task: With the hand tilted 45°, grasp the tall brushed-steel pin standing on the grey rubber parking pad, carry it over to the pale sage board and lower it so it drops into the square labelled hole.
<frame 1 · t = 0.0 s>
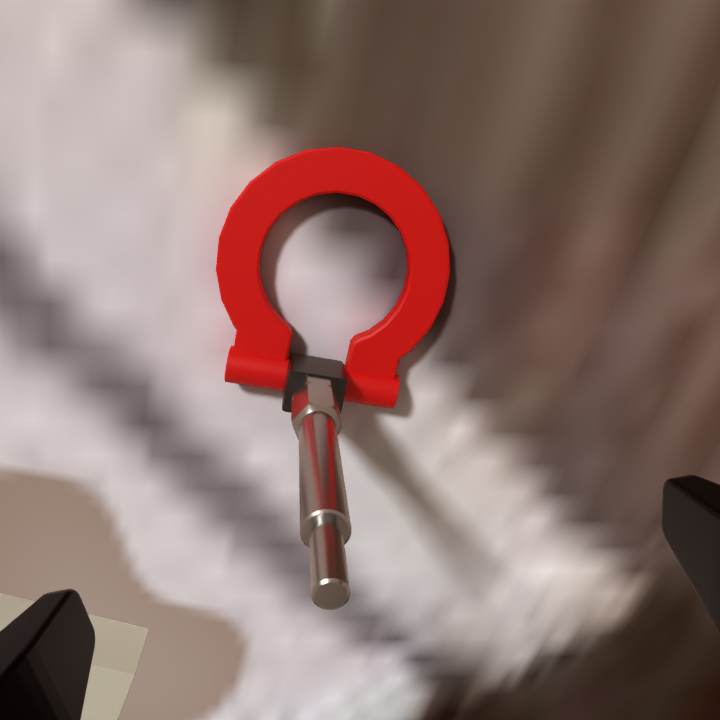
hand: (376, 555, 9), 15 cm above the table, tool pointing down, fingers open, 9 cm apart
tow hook: (331, 276, 23), on the table
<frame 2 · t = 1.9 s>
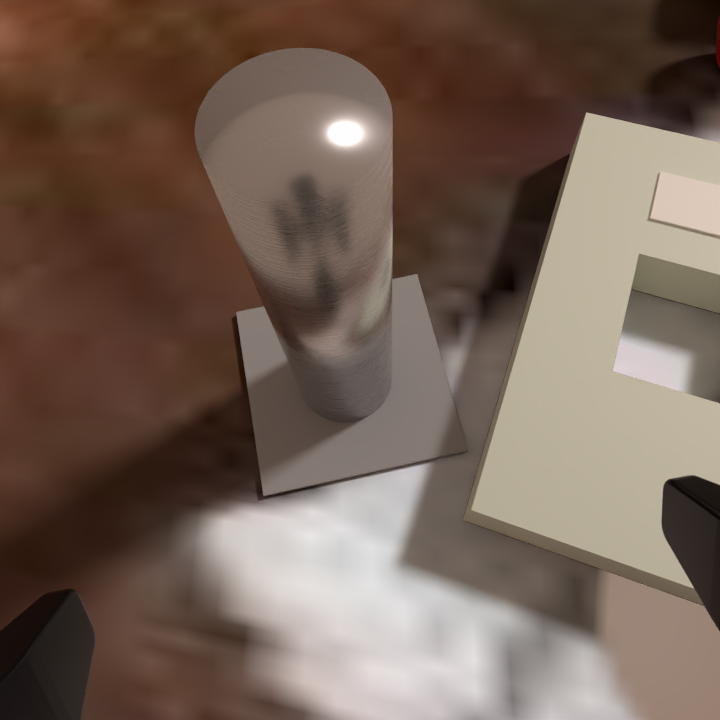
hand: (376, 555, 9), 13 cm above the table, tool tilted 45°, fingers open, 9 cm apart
steel pin: (345, 377, 24), resting on parking pad
hole board: (669, 356, 24), on the table
parking pad: (345, 379, 25), on the table
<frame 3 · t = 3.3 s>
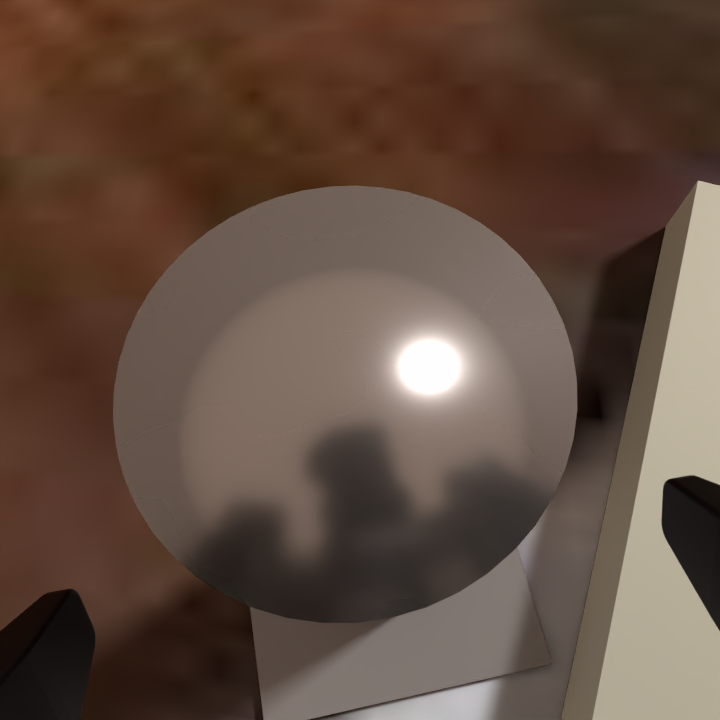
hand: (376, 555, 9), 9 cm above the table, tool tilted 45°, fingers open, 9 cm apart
steel pin: (378, 546, 18), resting on parking pad
parking pad: (378, 546, 18), on the table
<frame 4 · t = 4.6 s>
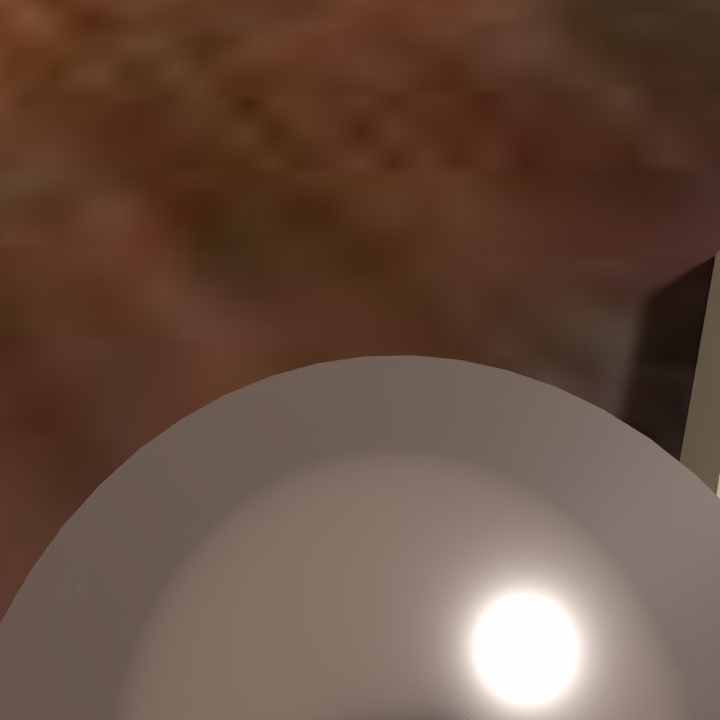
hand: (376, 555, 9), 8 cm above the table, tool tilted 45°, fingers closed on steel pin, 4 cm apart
steel pin: (393, 635, 15), resting on parking pad, touching gripper
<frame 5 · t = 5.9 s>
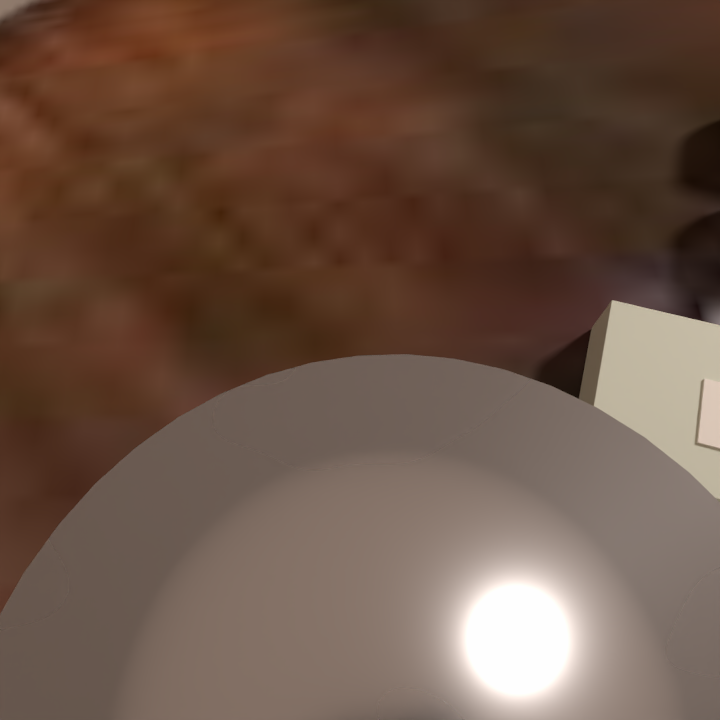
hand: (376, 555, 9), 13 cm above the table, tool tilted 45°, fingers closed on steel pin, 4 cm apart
steel pin: (392, 635, 15), point 6 cm above the table, touching gripper
when the fingers open (11 cm above the table, at t = 7.5 s): steel pin drops 4 cm, resting in hole board.
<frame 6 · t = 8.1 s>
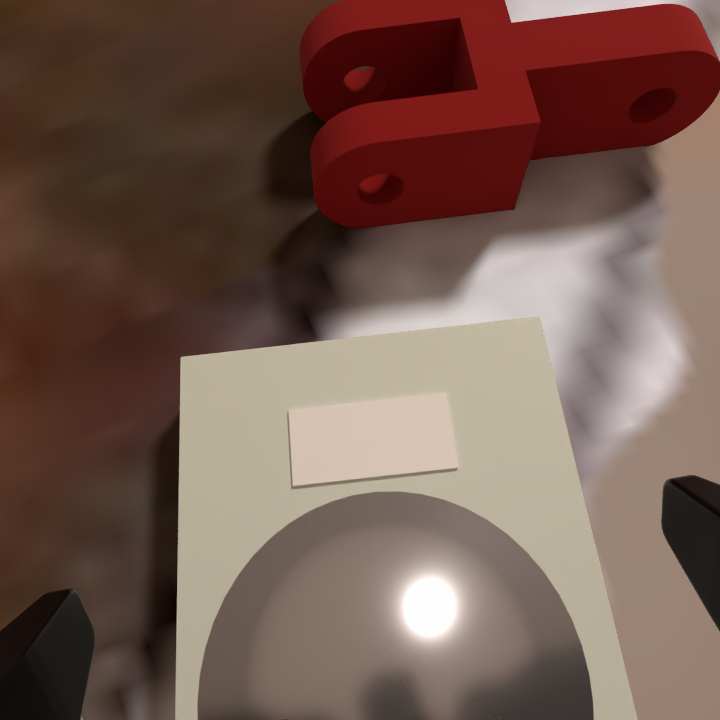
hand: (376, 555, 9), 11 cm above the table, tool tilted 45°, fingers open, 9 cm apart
steel pin: (391, 633, 19), resting in hole board
hole board: (392, 629, 19), on the table
mechanical linkage: (495, 148, 26), on the table
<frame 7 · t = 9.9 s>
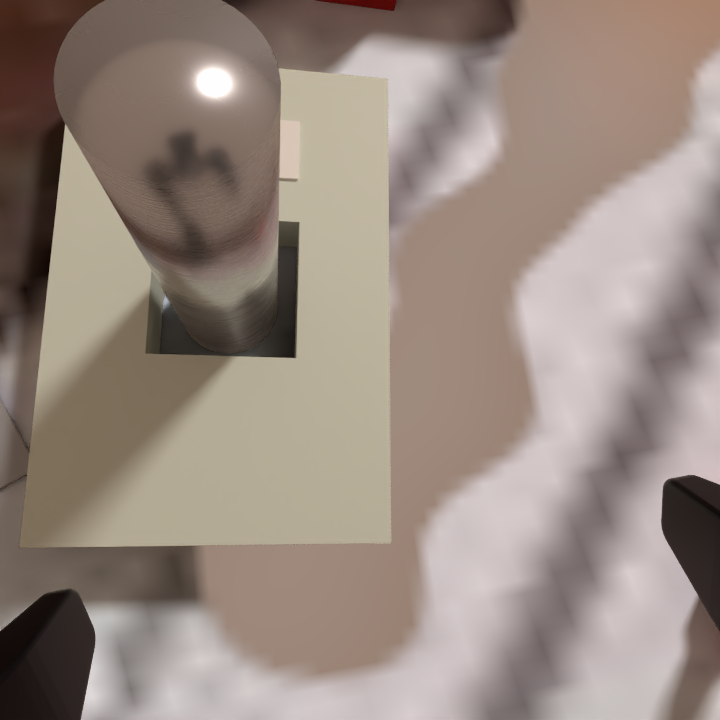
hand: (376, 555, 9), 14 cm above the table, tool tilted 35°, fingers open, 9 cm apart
steel pin: (229, 307, 24), resting in hole board
hole board: (230, 304, 24), on the table
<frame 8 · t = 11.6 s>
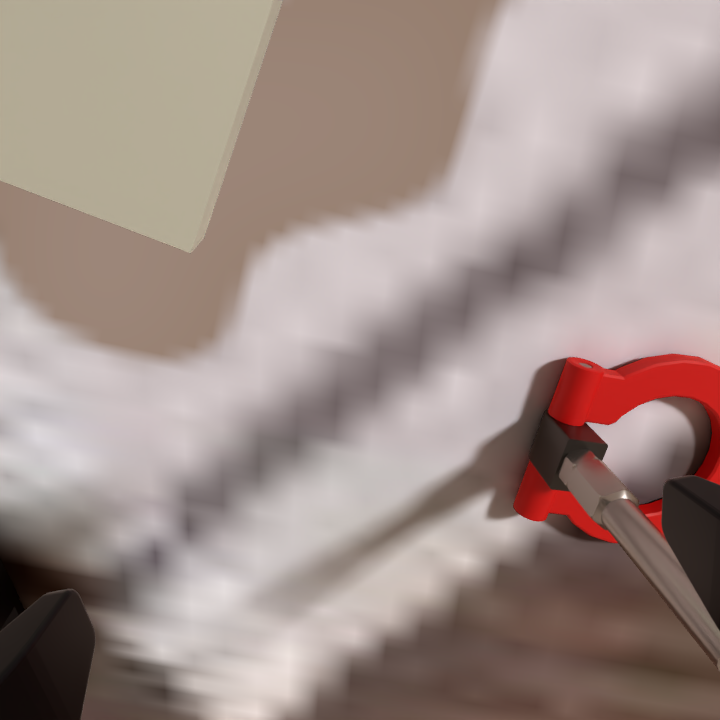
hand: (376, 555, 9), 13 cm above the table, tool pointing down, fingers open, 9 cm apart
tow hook: (632, 442, 25), on the table
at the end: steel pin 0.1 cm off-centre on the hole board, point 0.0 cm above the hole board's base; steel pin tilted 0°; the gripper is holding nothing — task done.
